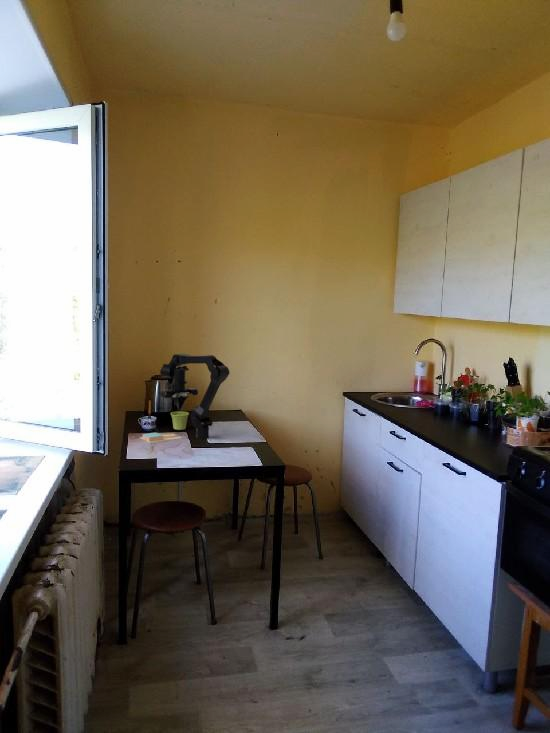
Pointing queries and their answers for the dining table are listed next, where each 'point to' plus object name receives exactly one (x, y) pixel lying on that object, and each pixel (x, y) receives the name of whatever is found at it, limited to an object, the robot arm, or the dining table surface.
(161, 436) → the tile
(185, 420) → the plant pot
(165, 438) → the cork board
